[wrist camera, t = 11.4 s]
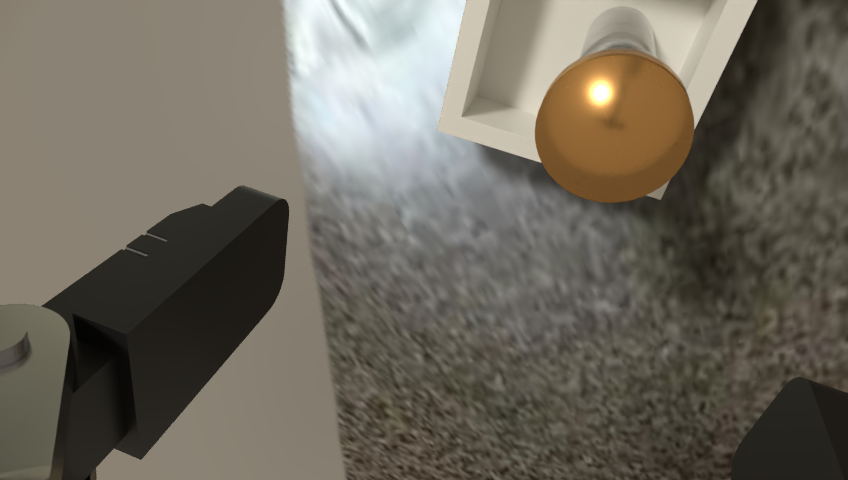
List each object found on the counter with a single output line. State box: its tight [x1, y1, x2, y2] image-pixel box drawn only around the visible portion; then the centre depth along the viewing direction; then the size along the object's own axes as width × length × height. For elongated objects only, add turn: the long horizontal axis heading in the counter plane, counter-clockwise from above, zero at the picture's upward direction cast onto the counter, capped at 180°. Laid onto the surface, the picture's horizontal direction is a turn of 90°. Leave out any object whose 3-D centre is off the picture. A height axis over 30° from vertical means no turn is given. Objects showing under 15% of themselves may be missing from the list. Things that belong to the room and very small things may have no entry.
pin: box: [535, 6, 694, 203], centre depth 23 cm, size 4×4×13 cm
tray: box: [437, 0, 757, 200], centre depth 27 cm, size 11×11×4 cm
